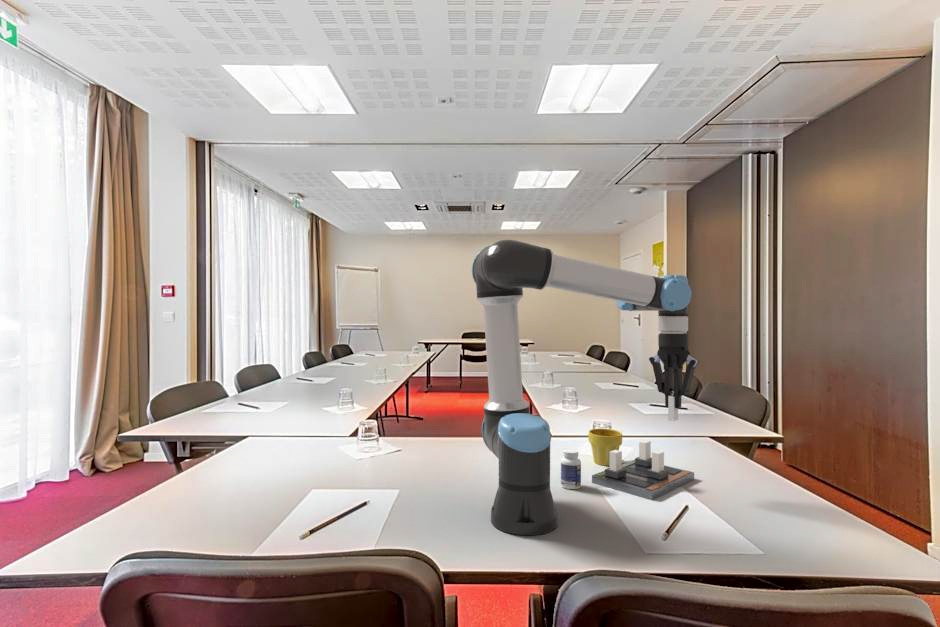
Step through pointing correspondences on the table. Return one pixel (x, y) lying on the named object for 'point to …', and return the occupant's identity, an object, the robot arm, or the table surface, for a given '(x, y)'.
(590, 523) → the table surface
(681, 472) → the panel
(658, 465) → the breaker mid
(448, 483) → the table surface
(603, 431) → the plant pot
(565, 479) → the pill bottle
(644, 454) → the breaker right
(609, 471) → the block
